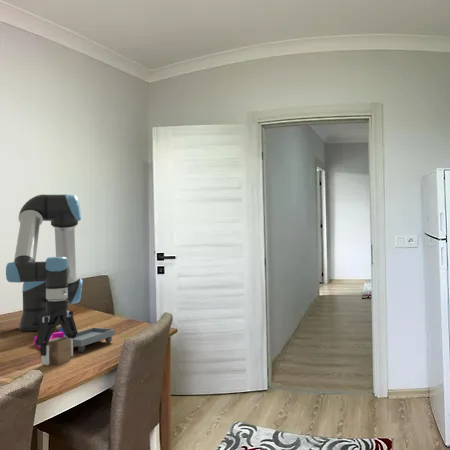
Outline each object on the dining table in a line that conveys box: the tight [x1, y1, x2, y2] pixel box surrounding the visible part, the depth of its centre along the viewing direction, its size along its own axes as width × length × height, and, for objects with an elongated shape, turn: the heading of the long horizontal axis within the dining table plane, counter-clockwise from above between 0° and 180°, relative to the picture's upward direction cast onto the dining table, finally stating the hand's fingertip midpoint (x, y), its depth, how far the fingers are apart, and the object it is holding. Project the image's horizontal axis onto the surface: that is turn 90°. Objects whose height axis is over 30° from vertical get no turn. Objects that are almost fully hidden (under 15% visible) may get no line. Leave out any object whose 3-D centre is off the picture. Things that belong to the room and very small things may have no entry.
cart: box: [61, 327, 115, 353], centre depth 188 cm, size 11×21×5 cm, turn 157°
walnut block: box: [47, 338, 71, 366], centre depth 167 cm, size 6×6×8 cm
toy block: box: [33, 331, 65, 349], centre depth 186 cm, size 15×6×8 cm, turn 42°
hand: (57, 359), depth 167 cm, fingers open, 11 cm apart
